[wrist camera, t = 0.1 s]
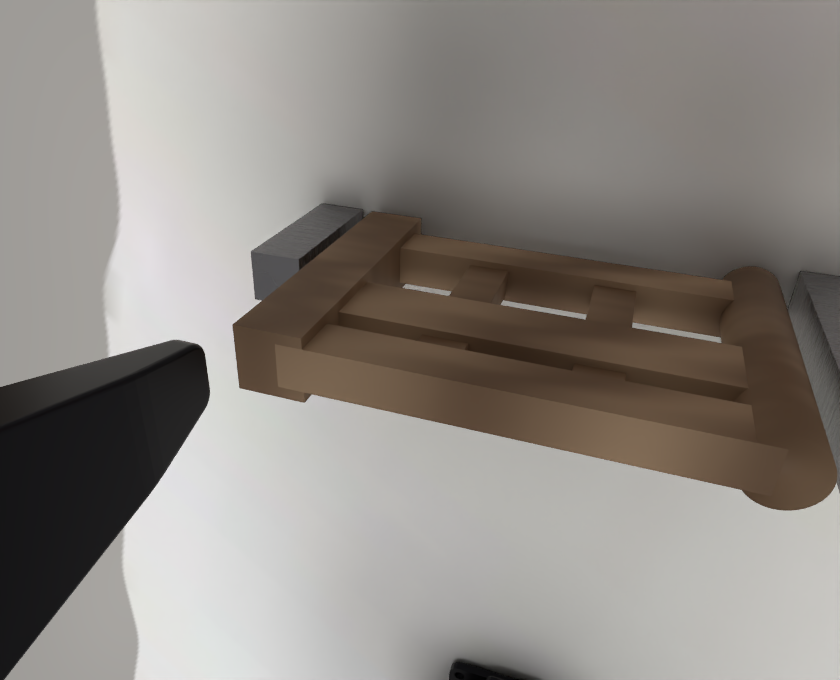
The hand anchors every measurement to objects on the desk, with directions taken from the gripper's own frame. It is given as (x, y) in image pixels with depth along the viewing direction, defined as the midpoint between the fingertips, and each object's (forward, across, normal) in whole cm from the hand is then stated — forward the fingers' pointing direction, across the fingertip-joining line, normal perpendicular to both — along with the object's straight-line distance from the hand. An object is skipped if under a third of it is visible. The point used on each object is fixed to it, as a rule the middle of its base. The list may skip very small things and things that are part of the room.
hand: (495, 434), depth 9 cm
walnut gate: (+14, +1, +3) cm, 14 cm away
